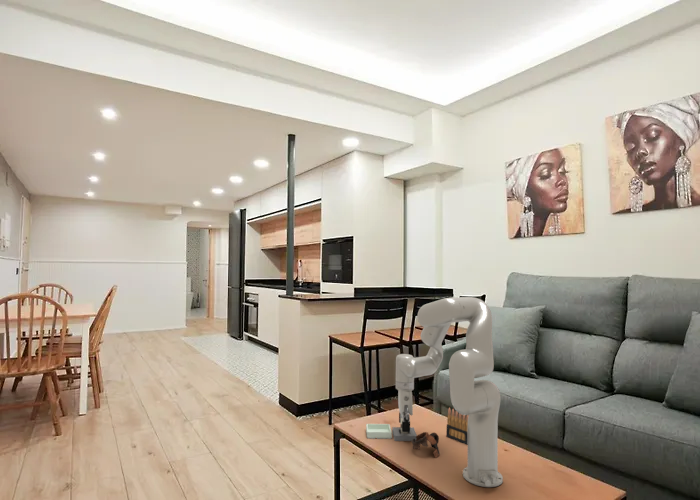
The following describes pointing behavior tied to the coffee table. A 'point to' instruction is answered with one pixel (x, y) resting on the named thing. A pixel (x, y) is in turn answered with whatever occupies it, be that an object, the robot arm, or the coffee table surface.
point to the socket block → (403, 437)
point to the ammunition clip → (457, 427)
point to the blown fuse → (401, 425)
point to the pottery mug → (432, 438)
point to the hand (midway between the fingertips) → (404, 427)
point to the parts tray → (378, 431)
